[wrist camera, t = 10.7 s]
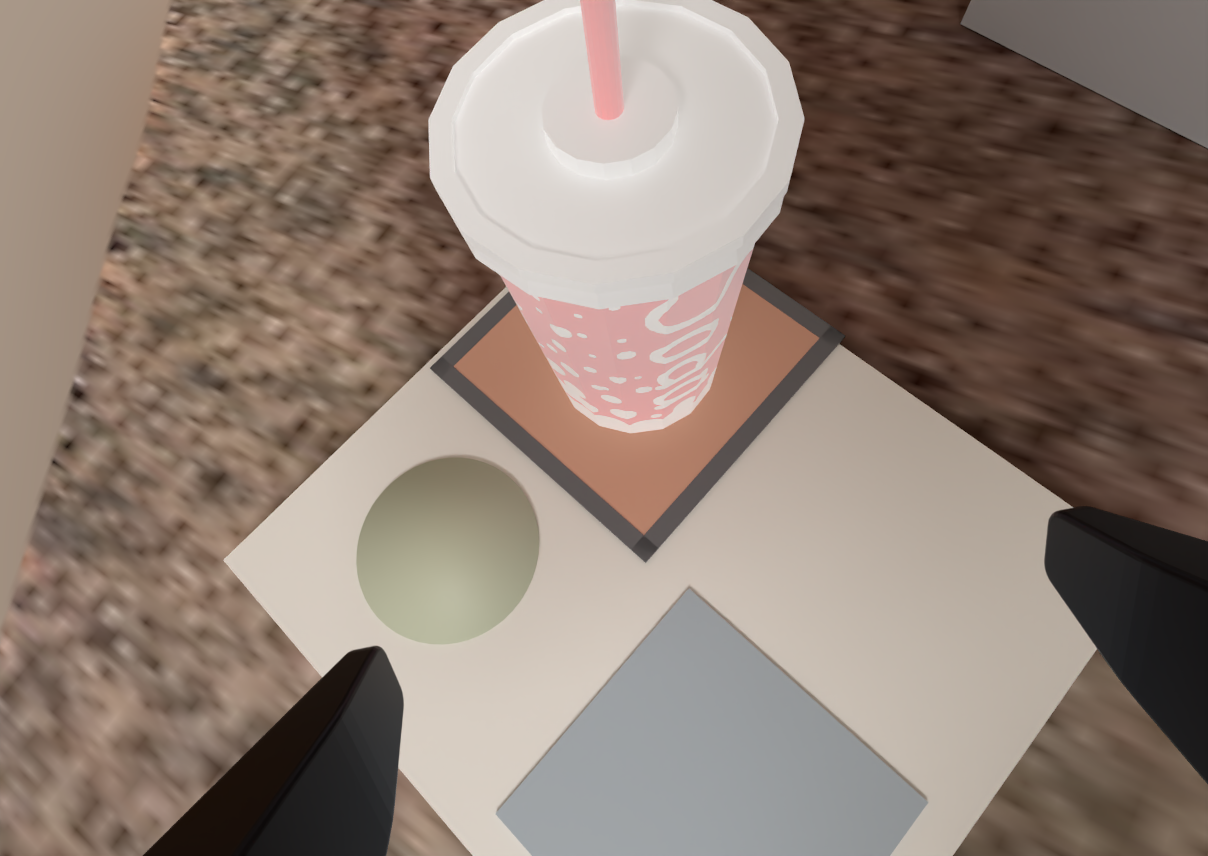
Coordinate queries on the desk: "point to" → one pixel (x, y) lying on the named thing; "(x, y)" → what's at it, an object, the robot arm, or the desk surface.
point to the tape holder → (1114, 50)
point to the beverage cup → (620, 186)
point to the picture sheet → (683, 601)
